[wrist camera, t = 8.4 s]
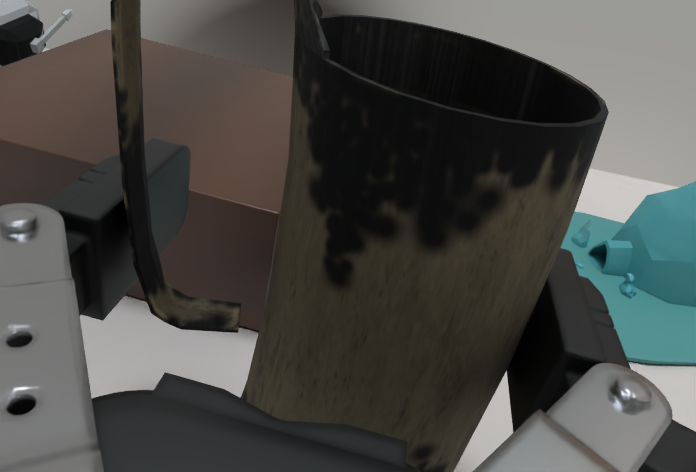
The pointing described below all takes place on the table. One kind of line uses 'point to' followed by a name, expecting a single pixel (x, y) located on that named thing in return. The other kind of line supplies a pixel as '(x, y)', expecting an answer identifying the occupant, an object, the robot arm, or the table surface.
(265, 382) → the mug
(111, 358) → the table surface
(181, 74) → the walnut block
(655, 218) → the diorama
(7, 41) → the robot toy
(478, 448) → the table surface
